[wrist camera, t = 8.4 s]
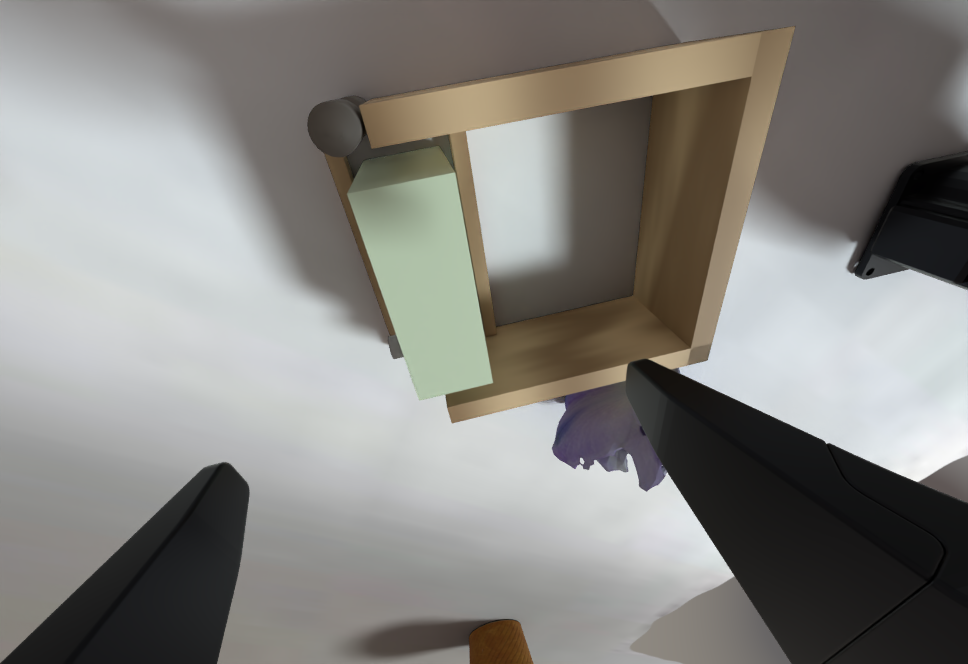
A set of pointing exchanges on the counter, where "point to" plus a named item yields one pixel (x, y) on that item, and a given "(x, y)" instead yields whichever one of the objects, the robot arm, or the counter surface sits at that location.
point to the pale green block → (423, 268)
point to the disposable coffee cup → (499, 644)
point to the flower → (606, 434)
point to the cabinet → (664, 215)
